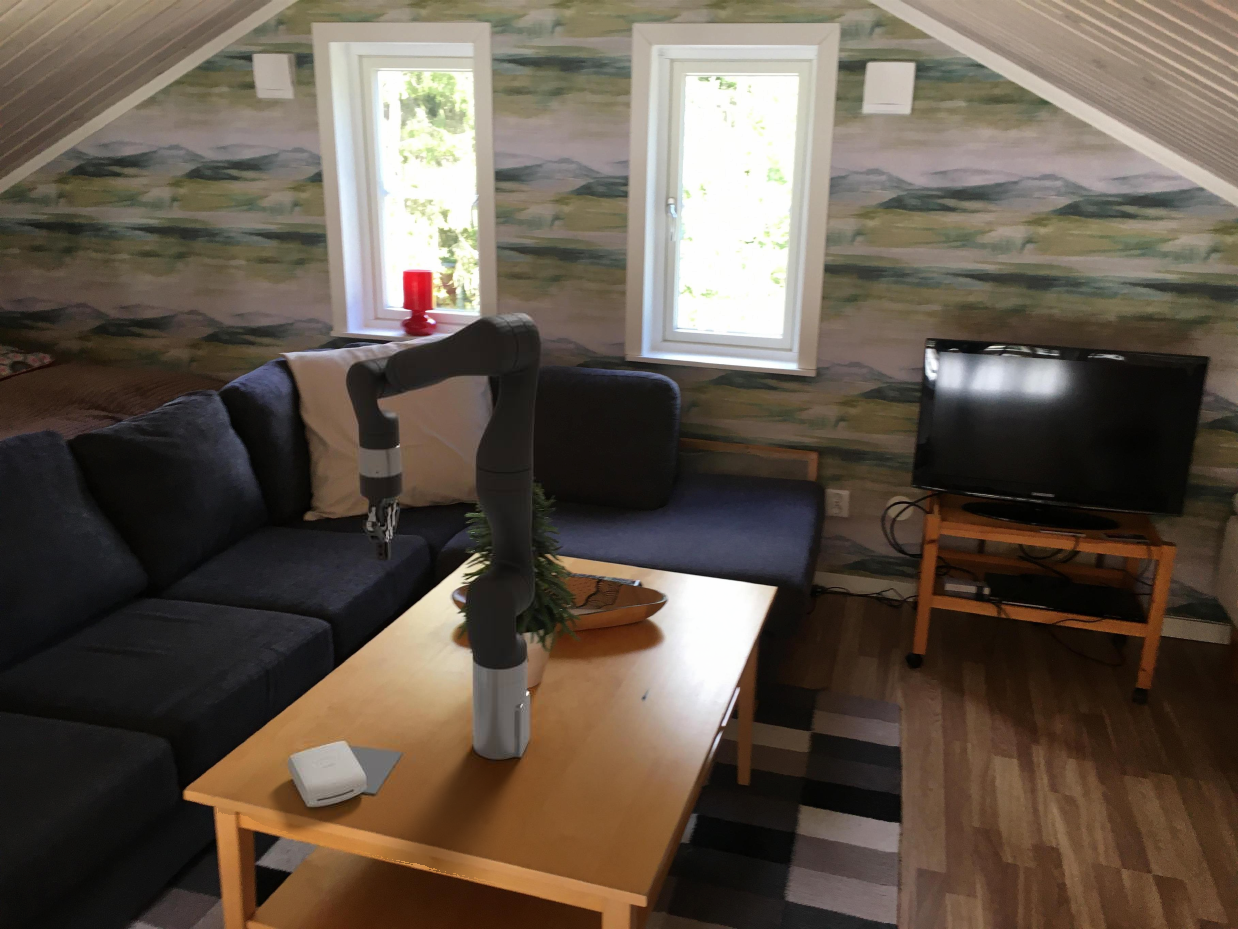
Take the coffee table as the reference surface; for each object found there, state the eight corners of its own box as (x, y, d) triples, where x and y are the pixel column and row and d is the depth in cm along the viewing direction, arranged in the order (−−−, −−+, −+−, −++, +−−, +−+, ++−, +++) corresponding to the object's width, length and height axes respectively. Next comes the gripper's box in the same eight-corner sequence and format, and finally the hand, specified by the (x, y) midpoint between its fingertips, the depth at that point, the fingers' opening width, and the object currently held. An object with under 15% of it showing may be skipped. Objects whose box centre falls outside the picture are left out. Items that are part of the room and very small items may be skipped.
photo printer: (348, 736, 172) (370, 775, 162) (349, 758, 173) (372, 798, 163) (285, 753, 167) (304, 794, 157) (287, 775, 168) (306, 817, 158)
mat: (402, 753, 176) (402, 752, 176) (375, 795, 164) (375, 793, 164) (342, 745, 177) (342, 744, 177) (311, 786, 166) (311, 784, 166)
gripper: (386, 481, 176) (389, 574, 181) (413, 460, 189) (416, 547, 194) (345, 478, 177) (349, 570, 182) (375, 456, 190) (378, 544, 195)
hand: (384, 558), depth 188 cm, fingers closed
